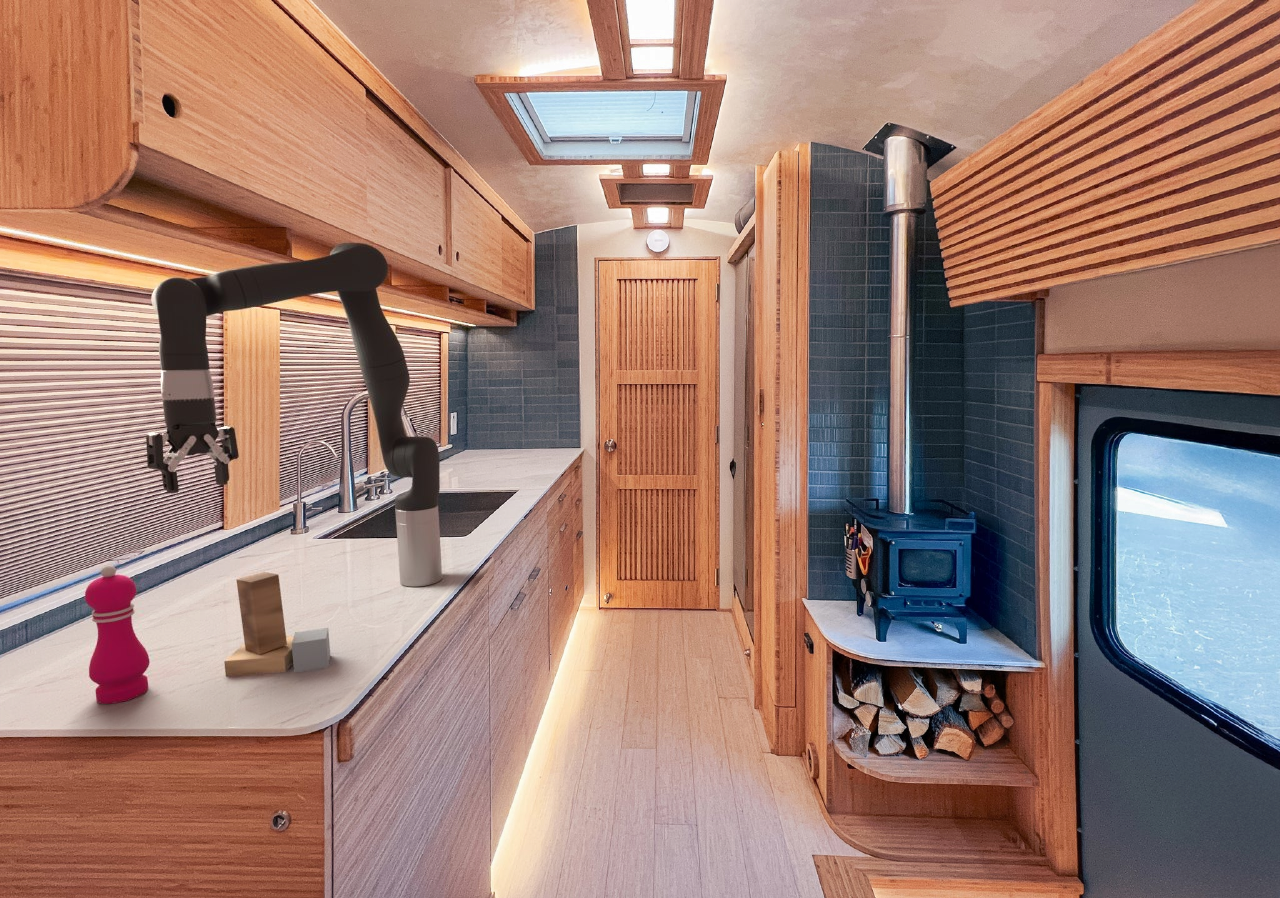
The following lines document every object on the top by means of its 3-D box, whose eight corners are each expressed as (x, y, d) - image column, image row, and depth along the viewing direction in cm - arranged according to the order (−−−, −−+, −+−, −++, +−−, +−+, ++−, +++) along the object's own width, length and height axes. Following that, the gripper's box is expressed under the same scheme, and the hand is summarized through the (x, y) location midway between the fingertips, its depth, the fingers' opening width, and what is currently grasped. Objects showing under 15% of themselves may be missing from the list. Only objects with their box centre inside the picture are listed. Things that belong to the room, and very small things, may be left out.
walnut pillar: (245, 649, 111) (236, 579, 110) (272, 640, 115) (264, 571, 113) (259, 654, 108) (250, 582, 107) (287, 644, 112) (278, 574, 111)
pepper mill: (133, 680, 106) (119, 557, 104) (163, 687, 103) (149, 561, 101) (81, 701, 100) (64, 570, 97) (111, 709, 97) (95, 575, 94)
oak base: (250, 655, 116) (249, 638, 116) (305, 651, 117) (304, 635, 117) (226, 679, 107) (224, 661, 107) (285, 674, 108) (284, 656, 108)
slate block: (297, 661, 112) (295, 632, 112) (330, 655, 114) (328, 627, 113) (294, 673, 108) (291, 643, 107) (328, 667, 109) (326, 638, 109)
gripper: (157, 398, 108) (169, 497, 110) (241, 394, 121) (250, 483, 123) (130, 399, 112) (141, 494, 114) (215, 394, 124) (224, 481, 126)
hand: (198, 488), depth 118 cm, fingers open, 8 cm apart
